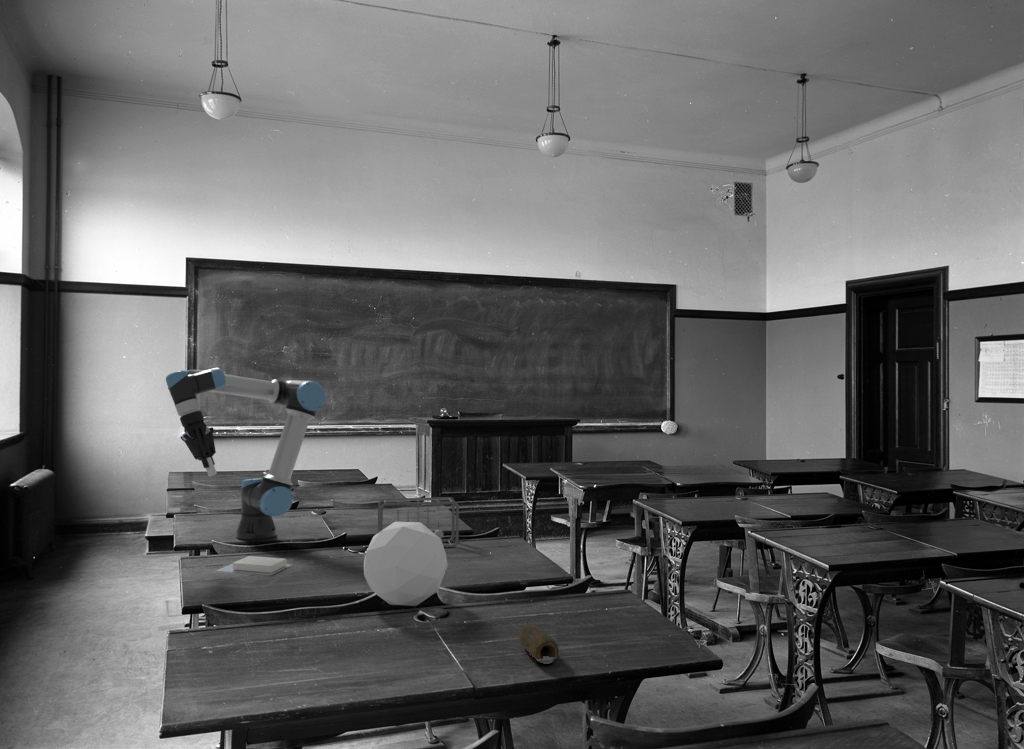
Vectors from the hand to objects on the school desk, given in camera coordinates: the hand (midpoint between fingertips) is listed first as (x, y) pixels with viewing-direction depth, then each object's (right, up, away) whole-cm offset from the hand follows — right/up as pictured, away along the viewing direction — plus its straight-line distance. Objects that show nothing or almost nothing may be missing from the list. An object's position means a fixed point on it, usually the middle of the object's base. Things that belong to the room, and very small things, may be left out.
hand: (213, 475), depth 283 cm
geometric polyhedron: (+75, -31, -50) cm, 95 cm away
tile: (+15, -28, -14) cm, 35 cm away
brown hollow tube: (+113, -33, -90) cm, 148 cm away
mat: (+20, -29, -15) cm, 39 cm away
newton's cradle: (+70, -30, +23) cm, 80 cm away
